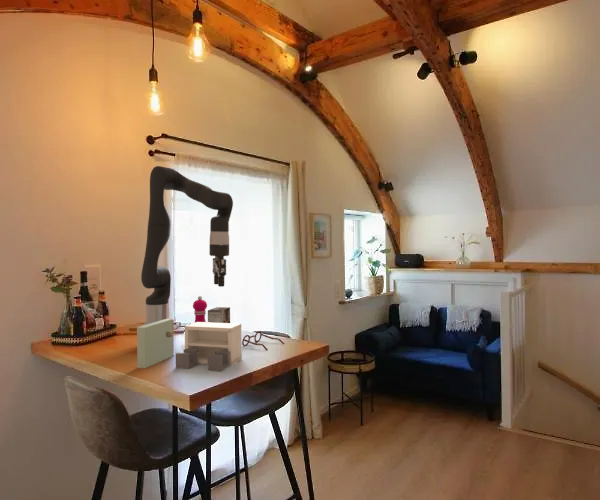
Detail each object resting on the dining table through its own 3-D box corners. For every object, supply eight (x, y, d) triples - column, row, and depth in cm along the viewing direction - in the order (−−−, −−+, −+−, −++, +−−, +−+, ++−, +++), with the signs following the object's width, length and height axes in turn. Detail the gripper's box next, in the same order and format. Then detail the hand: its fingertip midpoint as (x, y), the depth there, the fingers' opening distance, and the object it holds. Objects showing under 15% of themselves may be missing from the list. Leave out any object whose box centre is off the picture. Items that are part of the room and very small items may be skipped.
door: (149, 368, 146) (148, 327, 146) (137, 367, 147) (137, 327, 147) (177, 355, 163) (177, 319, 163) (166, 355, 165) (166, 318, 165)
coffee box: (216, 344, 181) (216, 306, 181) (230, 345, 180) (230, 307, 180) (207, 349, 172) (207, 310, 172) (222, 350, 171) (222, 310, 171)
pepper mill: (188, 342, 185) (187, 296, 185) (198, 339, 192) (197, 294, 192) (202, 344, 183) (202, 297, 183) (212, 340, 189) (211, 295, 189)
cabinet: (174, 367, 147) (174, 329, 147) (197, 356, 162) (197, 321, 162) (222, 371, 142) (222, 332, 142) (241, 359, 158) (241, 323, 158)
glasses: (260, 341, 189) (259, 330, 189) (285, 345, 182) (285, 333, 182) (241, 347, 177) (241, 335, 177) (267, 351, 171) (267, 339, 171)
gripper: (206, 243, 171) (206, 283, 171) (213, 243, 158) (212, 287, 158) (225, 243, 174) (224, 283, 174) (233, 243, 161) (232, 287, 161)
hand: (219, 285), depth 166 cm, fingers open, 8 cm apart
